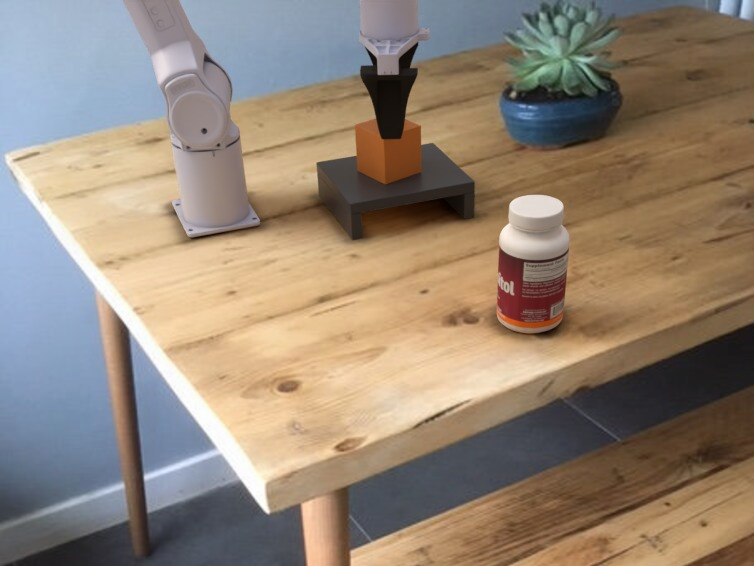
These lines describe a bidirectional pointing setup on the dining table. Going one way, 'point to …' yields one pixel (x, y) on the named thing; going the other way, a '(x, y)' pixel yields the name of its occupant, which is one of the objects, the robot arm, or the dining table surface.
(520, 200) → the pill bottle
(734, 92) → the dining table surface
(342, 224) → the shelf
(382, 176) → the cube
